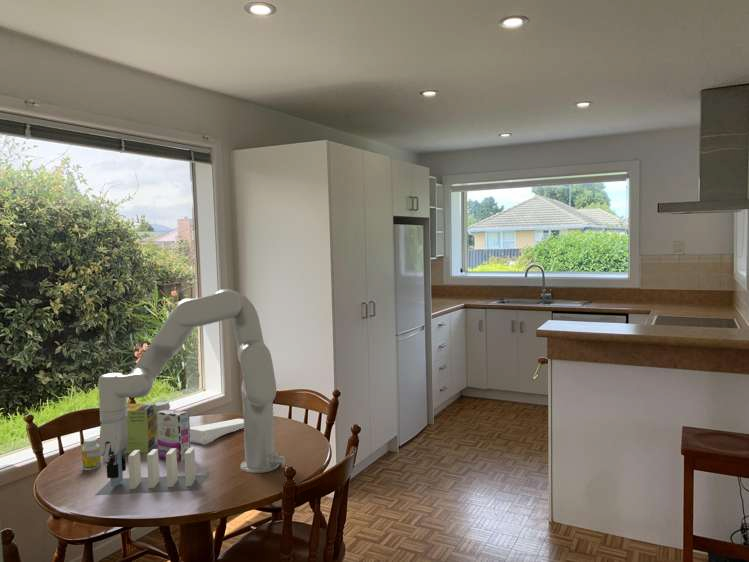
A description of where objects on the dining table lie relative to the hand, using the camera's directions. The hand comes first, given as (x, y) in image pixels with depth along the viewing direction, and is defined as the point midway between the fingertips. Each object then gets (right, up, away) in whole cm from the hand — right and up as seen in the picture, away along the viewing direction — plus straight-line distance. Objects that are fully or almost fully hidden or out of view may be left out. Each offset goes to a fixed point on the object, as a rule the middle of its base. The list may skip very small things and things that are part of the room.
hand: (116, 473), depth 171 cm
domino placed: (0, -3, 0) cm, 3 cm away
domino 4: (+22, -3, +1) cm, 22 cm away
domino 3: (+17, -3, +1) cm, 17 cm away
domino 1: (+6, -4, 0) cm, 7 cm away
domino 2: (+11, -4, +1) cm, 12 cm away
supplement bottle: (-16, -4, +17) cm, 24 cm away
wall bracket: (+18, -2, +51) cm, 54 cm away
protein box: (-10, -3, +35) cm, 37 cm away
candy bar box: (+9, -3, +24) cm, 26 cm away
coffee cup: (-7, -2, +53) cm, 54 cm away
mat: (+11, -4, +1) cm, 12 cm away
